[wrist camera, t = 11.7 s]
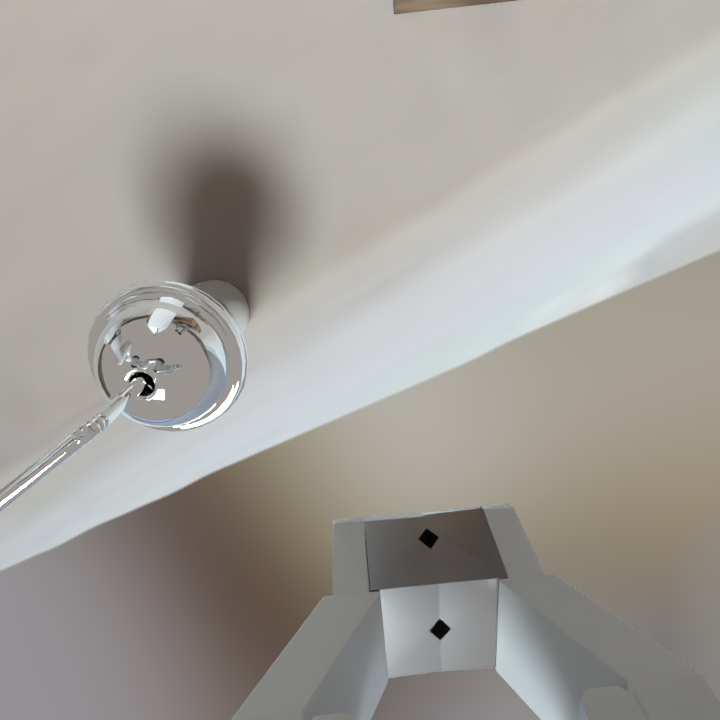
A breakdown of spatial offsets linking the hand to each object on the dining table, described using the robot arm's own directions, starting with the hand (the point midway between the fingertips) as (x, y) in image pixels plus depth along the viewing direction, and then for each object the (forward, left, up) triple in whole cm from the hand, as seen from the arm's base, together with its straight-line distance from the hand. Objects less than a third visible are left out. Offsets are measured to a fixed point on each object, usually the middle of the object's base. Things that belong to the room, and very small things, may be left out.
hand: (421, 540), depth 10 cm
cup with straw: (-12, -3, -30) cm, 33 cm away
